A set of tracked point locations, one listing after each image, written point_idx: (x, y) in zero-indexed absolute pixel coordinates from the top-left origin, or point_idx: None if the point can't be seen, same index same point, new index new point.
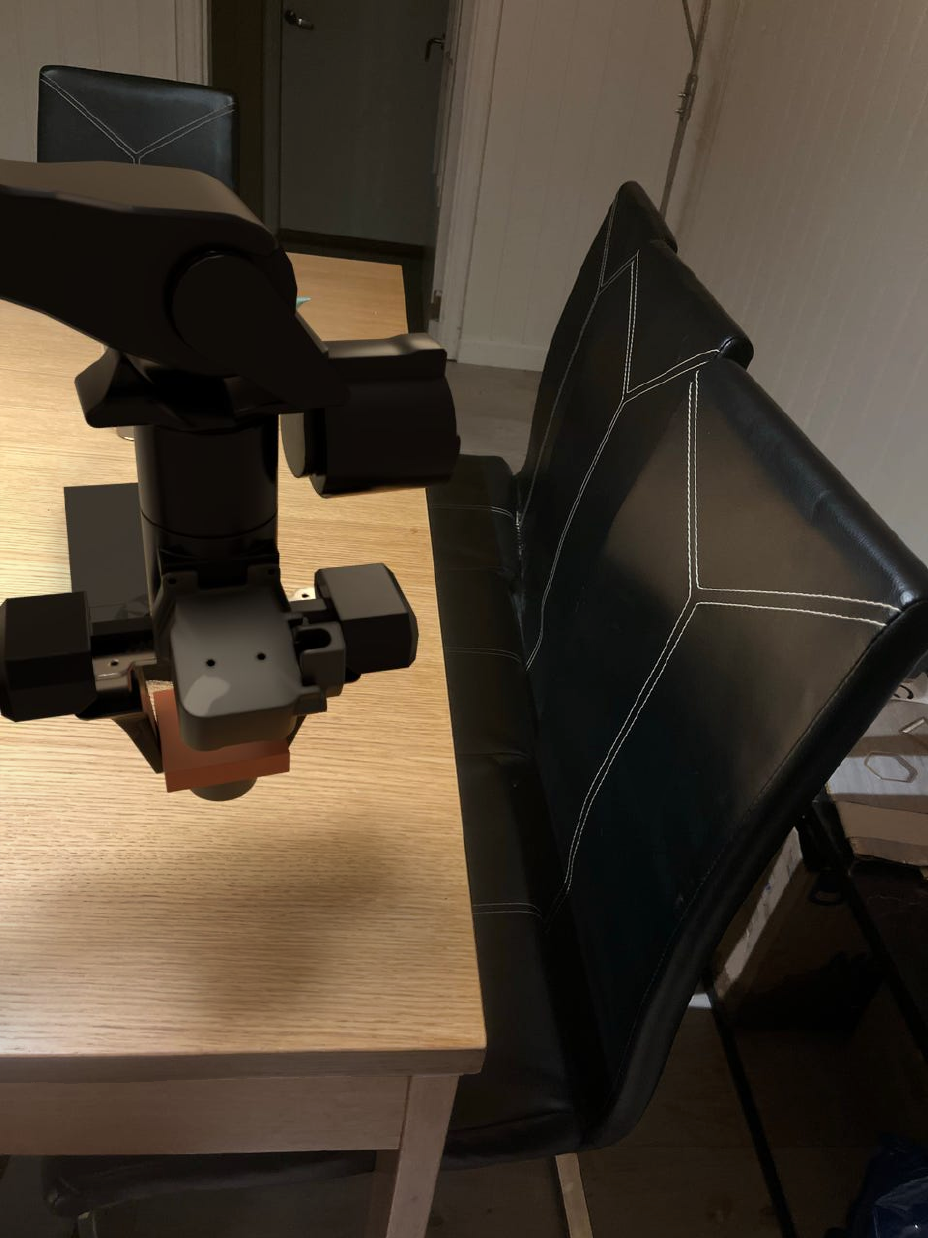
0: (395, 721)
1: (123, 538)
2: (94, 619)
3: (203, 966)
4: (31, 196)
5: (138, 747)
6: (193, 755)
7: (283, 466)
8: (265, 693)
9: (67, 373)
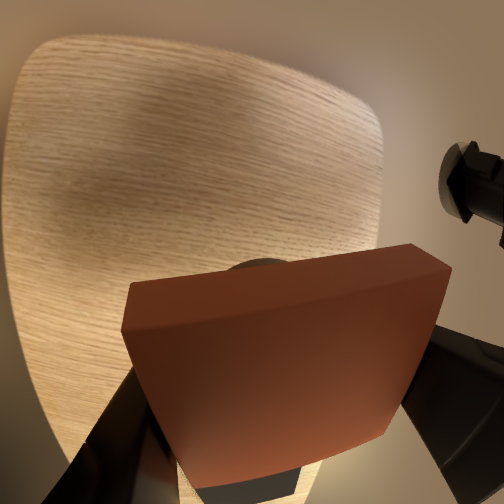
0: (62, 376)
1: (268, 483)
2: None
3: (247, 132)
4: None
5: (455, 332)
6: (397, 322)
7: None
8: None
9: None
